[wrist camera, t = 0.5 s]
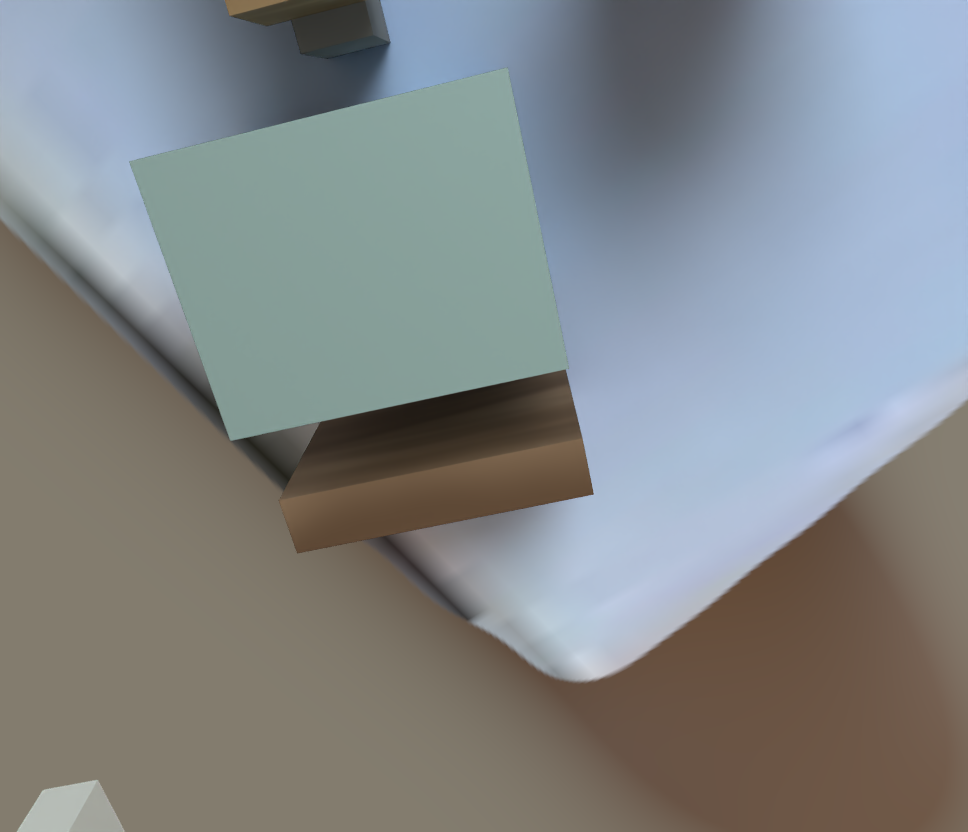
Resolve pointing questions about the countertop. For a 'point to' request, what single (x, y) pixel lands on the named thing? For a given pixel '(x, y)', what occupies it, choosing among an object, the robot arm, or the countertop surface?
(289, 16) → the oak peg
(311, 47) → the rail
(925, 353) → the countertop surface
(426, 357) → the bore block
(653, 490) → the countertop surface
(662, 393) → the countertop surface
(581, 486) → the wall
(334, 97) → the countertop surface
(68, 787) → the robot arm
